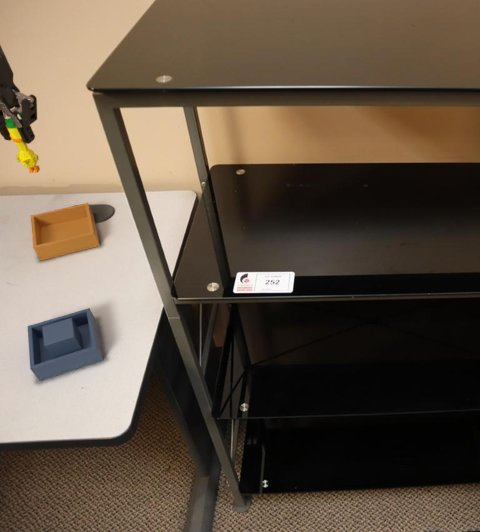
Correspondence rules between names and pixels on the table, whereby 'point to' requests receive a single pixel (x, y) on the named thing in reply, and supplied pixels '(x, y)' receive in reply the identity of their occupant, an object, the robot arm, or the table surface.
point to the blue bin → (50, 367)
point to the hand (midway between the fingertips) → (20, 139)
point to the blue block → (62, 338)
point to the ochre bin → (64, 231)
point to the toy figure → (22, 148)
